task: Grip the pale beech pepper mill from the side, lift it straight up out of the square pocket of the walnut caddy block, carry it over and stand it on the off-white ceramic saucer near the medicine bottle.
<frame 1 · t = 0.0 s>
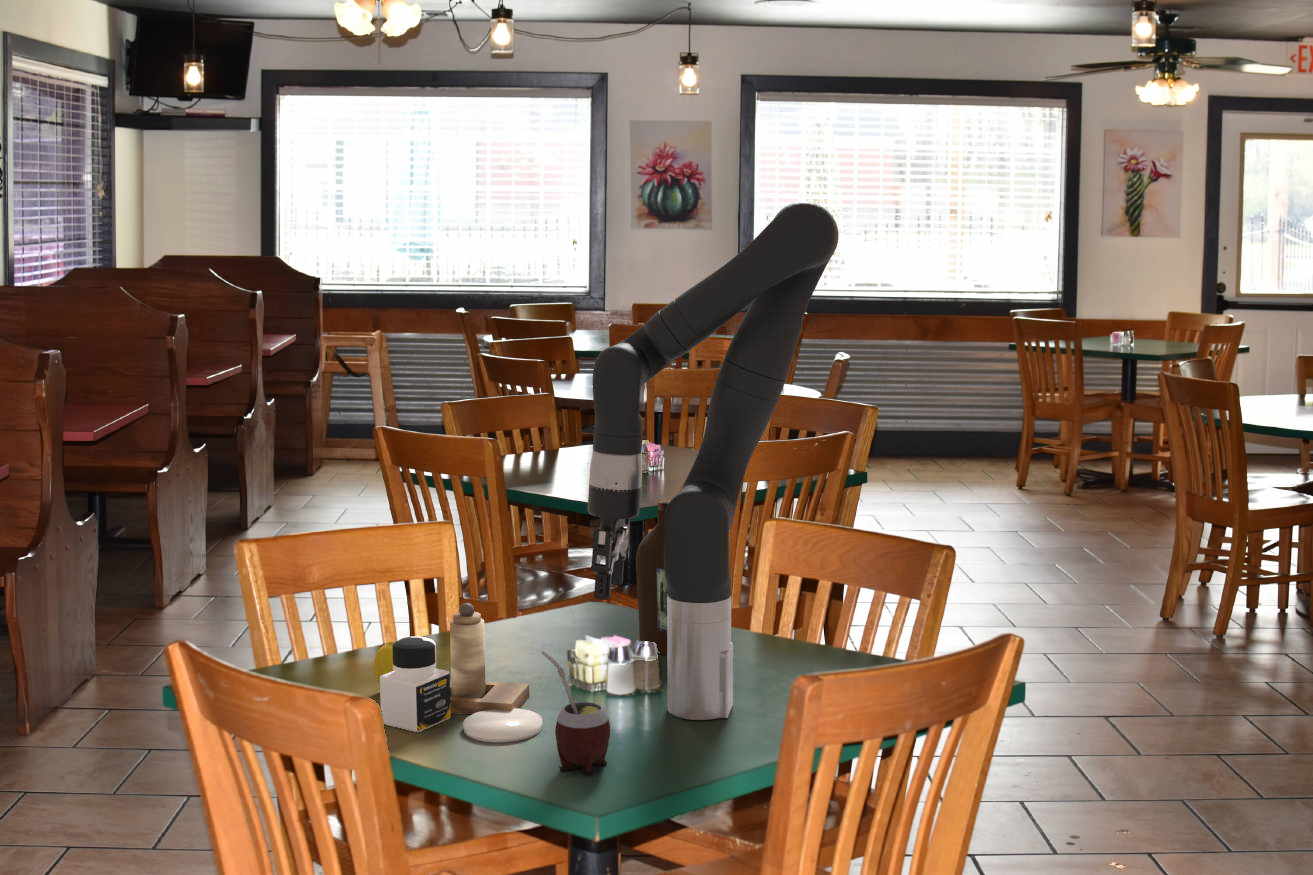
hand: (608, 591, 193), 17 cm above the table, tool pointing down, fingers open, 8 cm apart
mate gourd: (579, 768, 171), on the table
olive oil: (667, 648, 224), on the table
lemon: (393, 693, 201), on the table
caddy: (468, 703, 196), on the table
saucer: (503, 727, 186), on the table
medicine bottle: (416, 722, 188), on the table
pepper mill: (467, 653, 195), in the caddy
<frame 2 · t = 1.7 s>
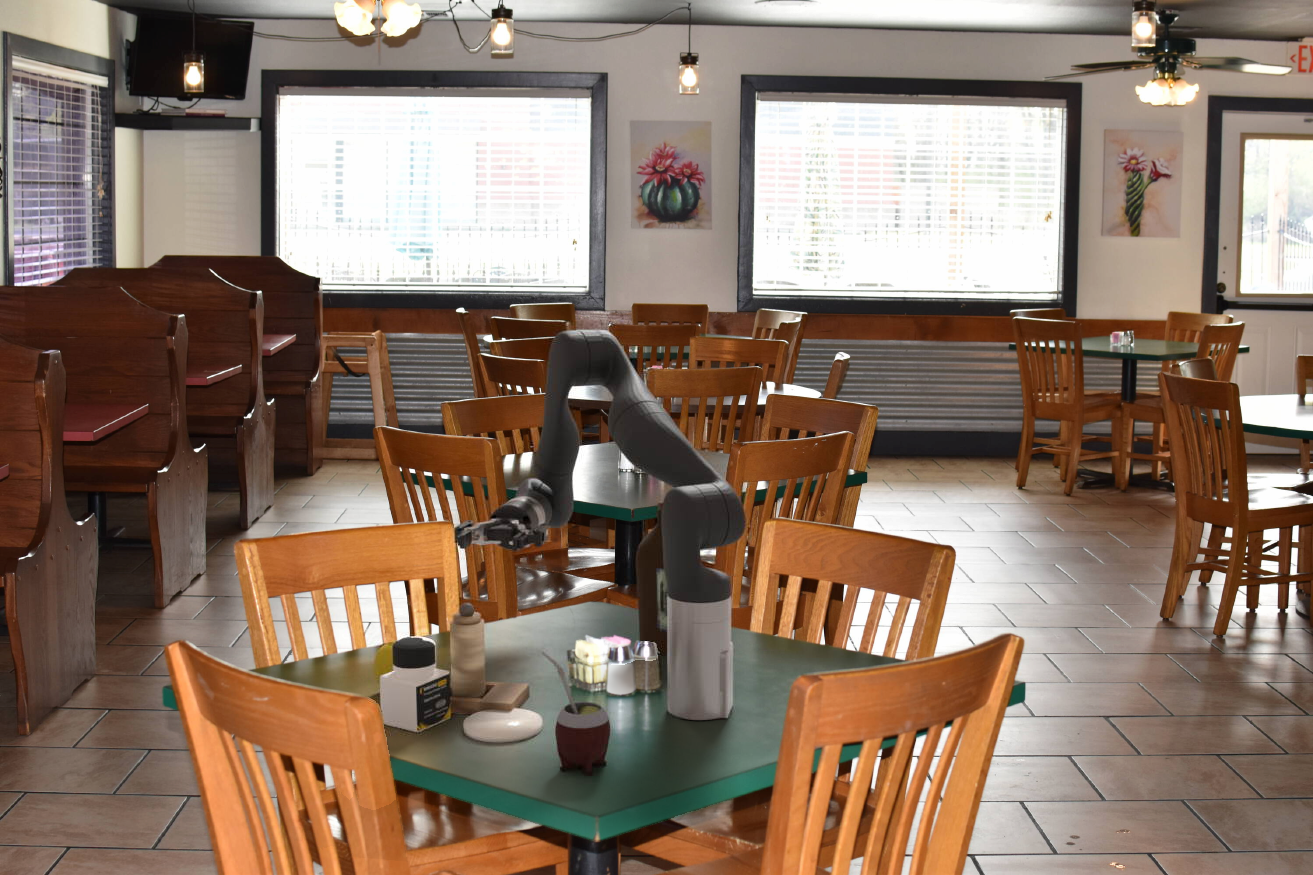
hand: (488, 543, 204), 22 cm above the table, tool horizontal, fingers open, 8 cm apart
nothing on the table moved.
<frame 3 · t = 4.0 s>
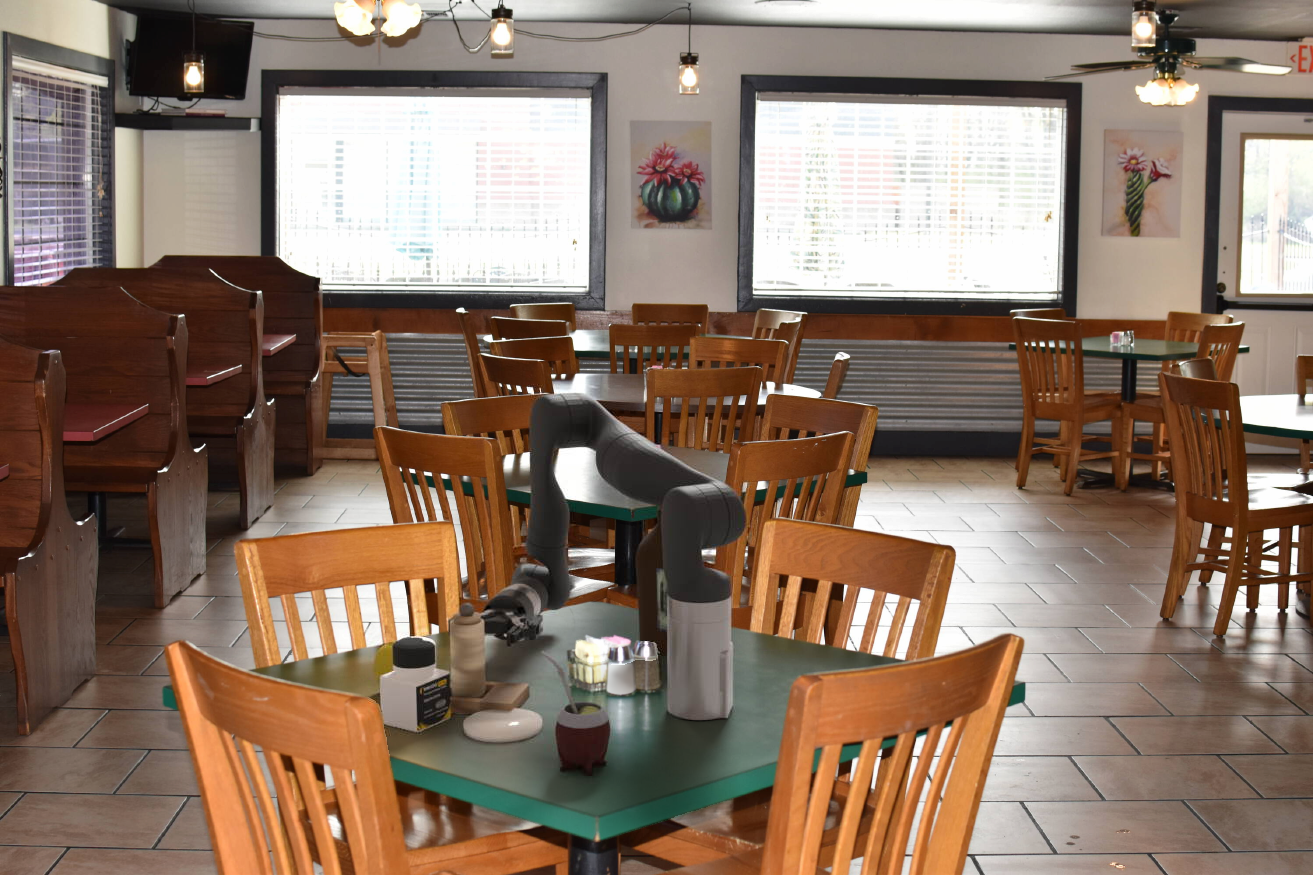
hand: (481, 638, 201), 8 cm above the table, tool horizontal, fingers open, 8 cm apart
nothing on the table moved.
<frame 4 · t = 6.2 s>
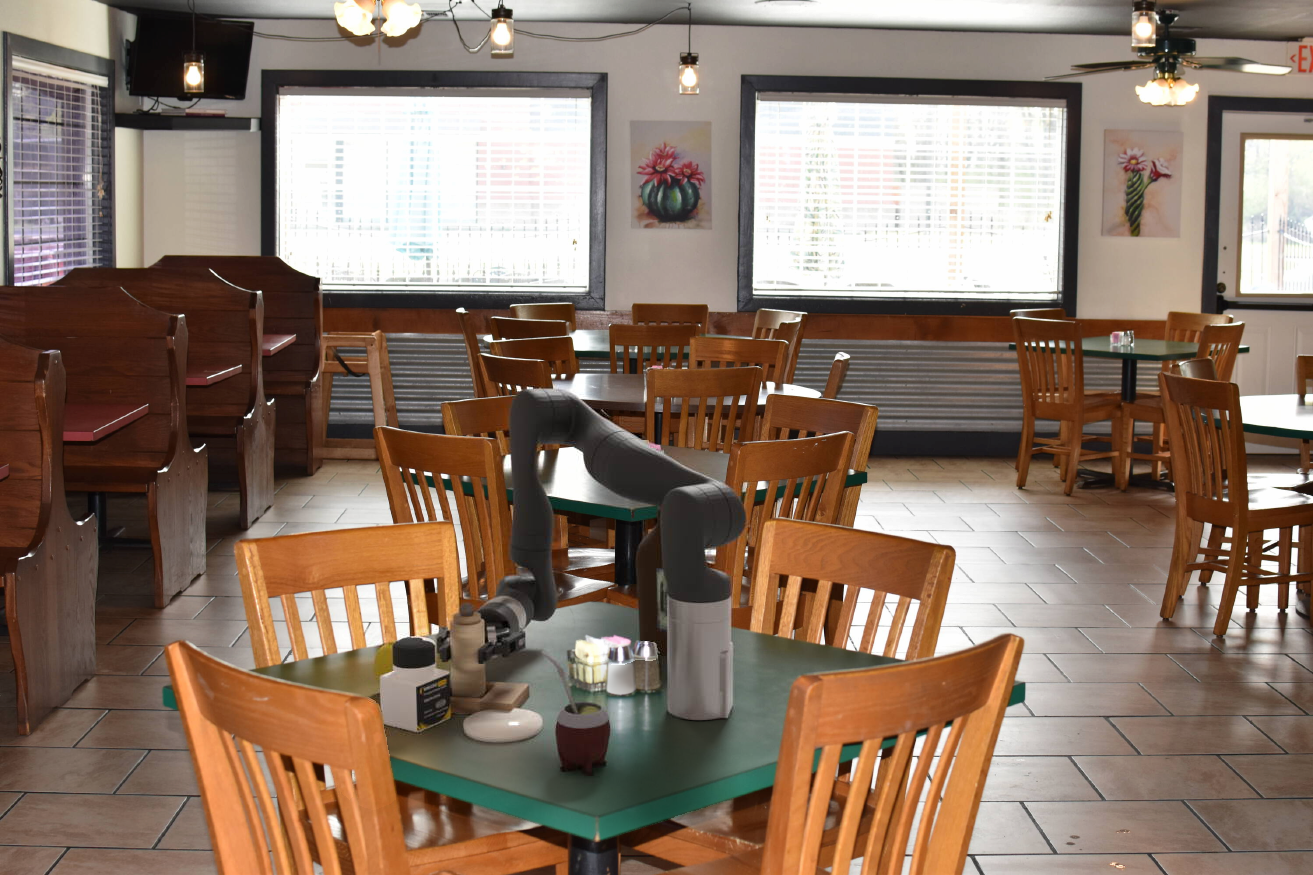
hand: (462, 656, 192), 8 cm above the table, tool horizontal, fingers closed on pepper mill, 5 cm apart
pepper mill: (467, 653, 195), in the caddy, touching gripper
everything else where it was.
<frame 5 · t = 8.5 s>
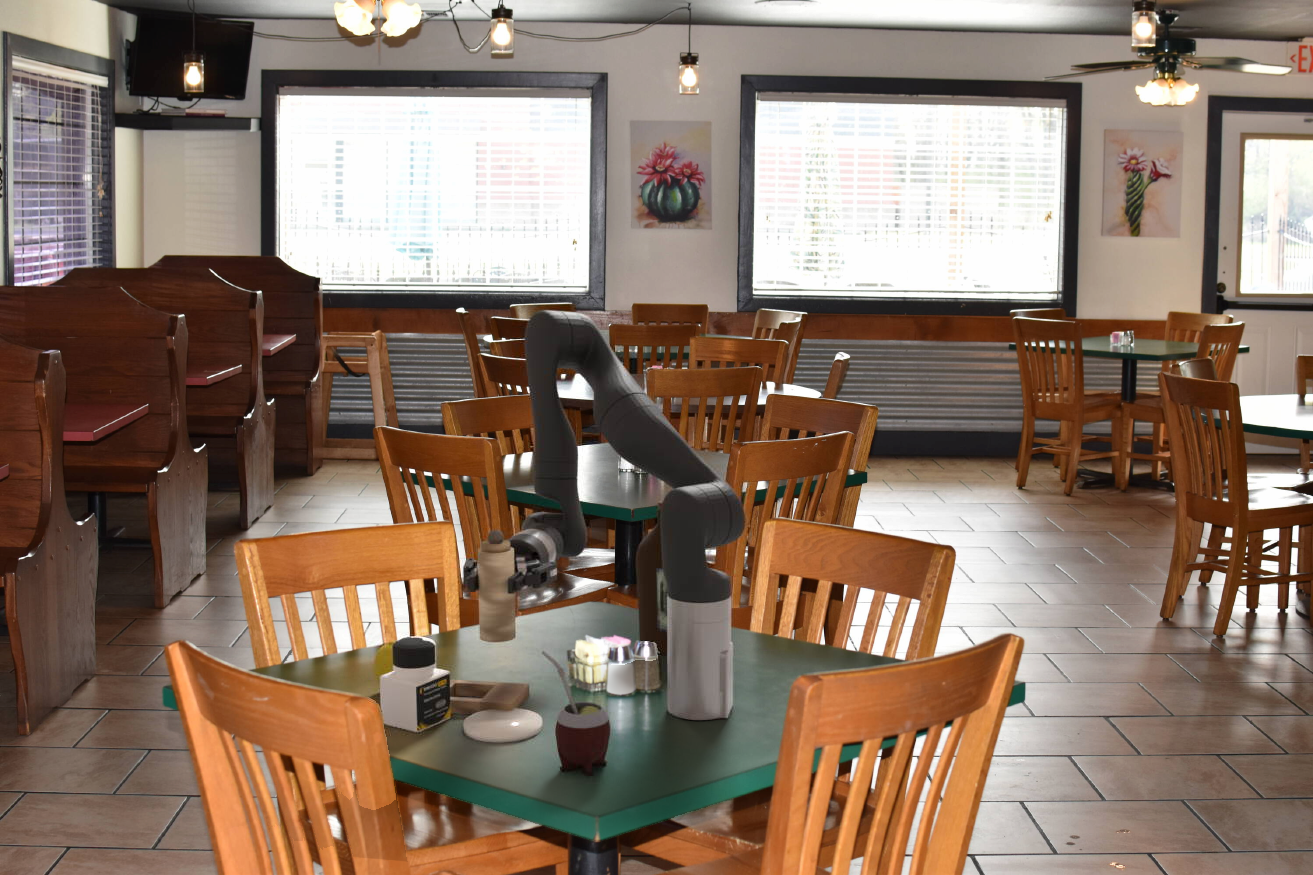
hand: (491, 585, 181), 21 cm above the table, tool horizontal, fingers closed on pepper mill, 5 cm apart
pepper mill: (496, 583, 184), point 20 cm above the table, touching gripper
everything else where it was.
when the fingers open (10 cm above the table, at t = 11.2 s): pepper mill stays where it is, resting on saucer.
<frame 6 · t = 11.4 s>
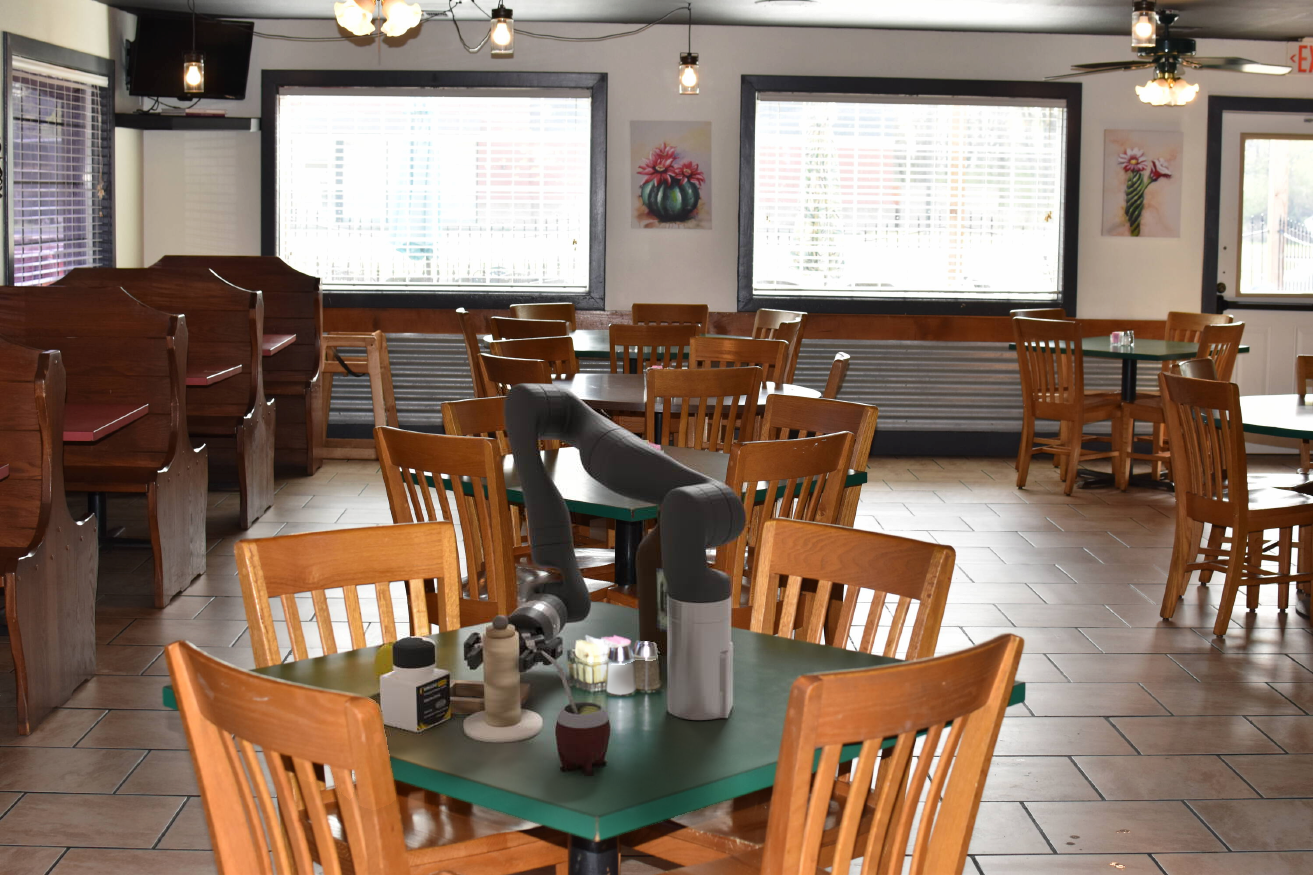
hand: (496, 664, 182), 10 cm above the table, tool horizontal, fingers open, 6 cm apart
pepper mill: (501, 668, 184), on the saucer, point 9 cm above the table
everything else where it was.
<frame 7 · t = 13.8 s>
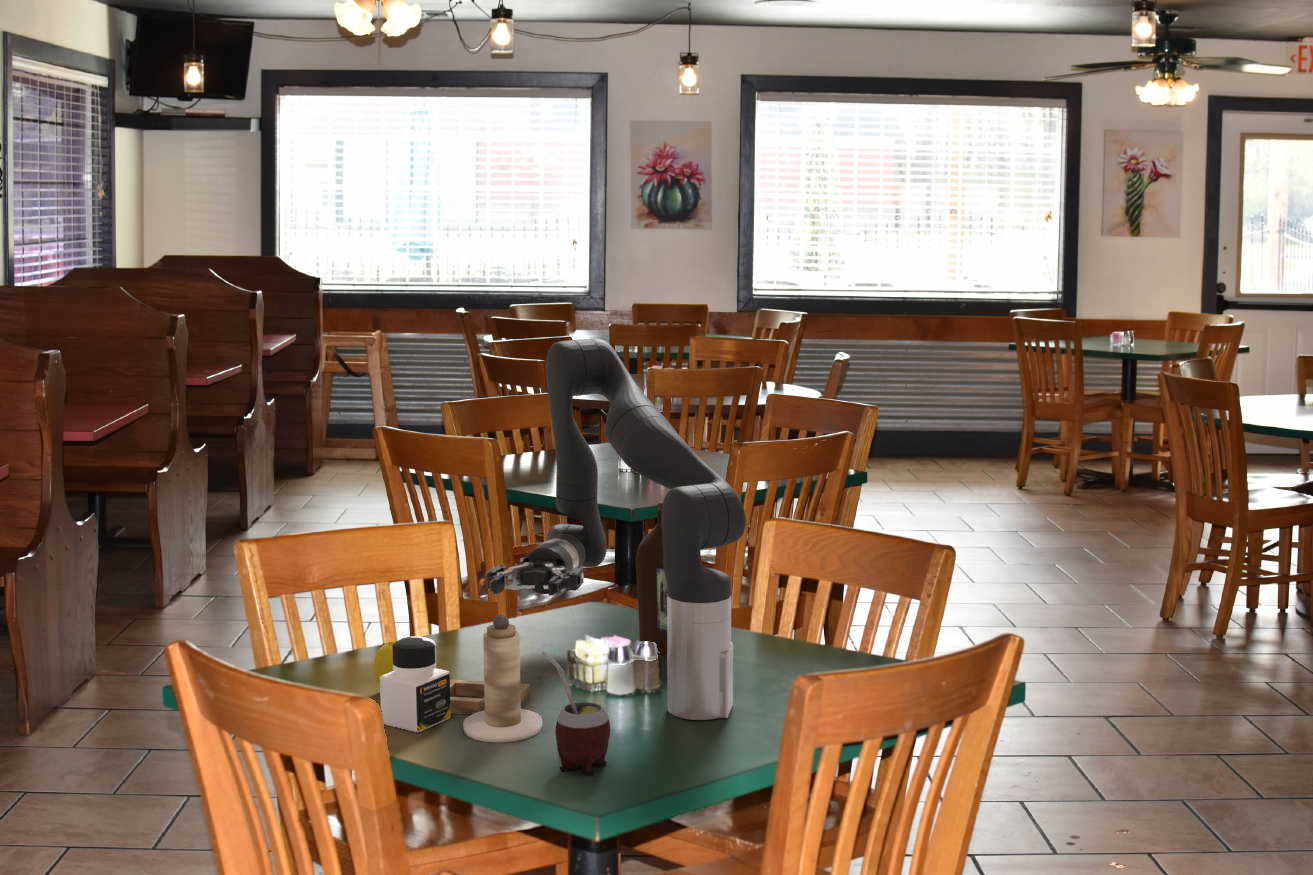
hand: (522, 588, 196), 17 cm above the table, tool horizontal, fingers open, 8 cm apart
nothing on the table moved.
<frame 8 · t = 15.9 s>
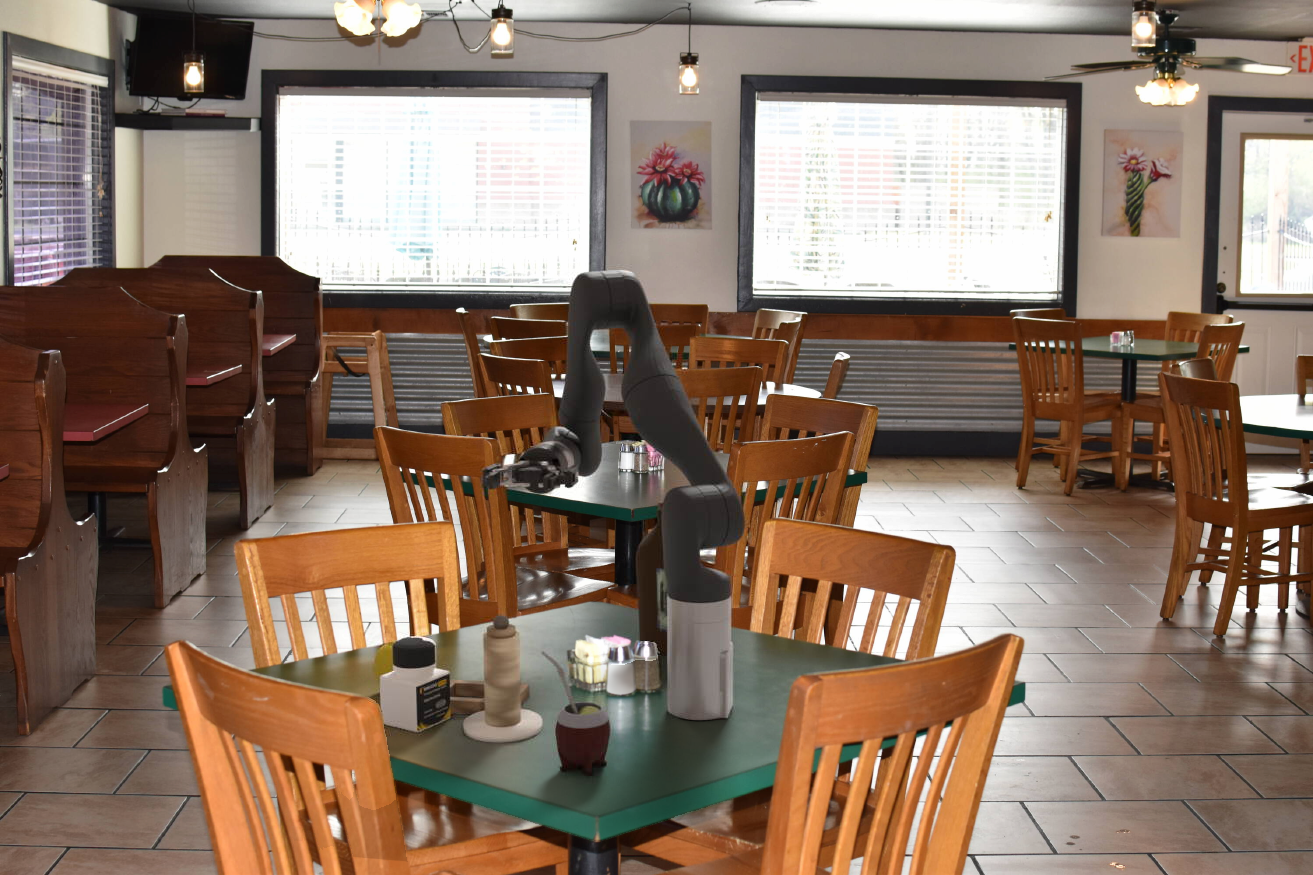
hand: (517, 483, 197), 32 cm above the table, tool horizontal, fingers open, 8 cm apart
nothing on the table moved.
at the end: pepper mill 0.1 cm from the saucer (horizontally); pepper mill tilted 0°; pepper mill point 8.6 cm above the table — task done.
